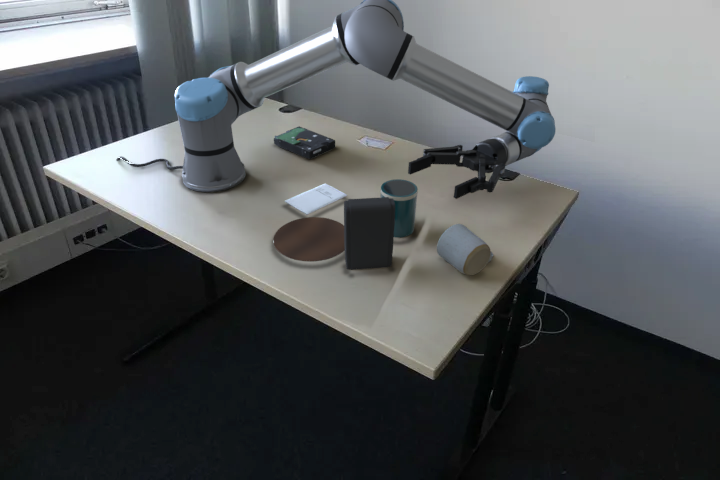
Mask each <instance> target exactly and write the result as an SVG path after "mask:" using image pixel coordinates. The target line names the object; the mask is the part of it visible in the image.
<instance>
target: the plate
mask: <svg viewBox="0 0 720 480" xmlns="http://www.w3.org/2000/svg"><path fill="white" fill-rule="evenodd" d="M272 242H273V246H274V248H275V250H277V252H278V253H279V254H281V255H282V256H284V257H285V258H288V259H291V260H294V261H299V262H320V261H326V260H329V259H332V258H335V257H337V256H339V255H341V254H342V253H345V246H344V223H341V222H340V221H338V220H335V219H332V218H327V217H321V216H309V217H302V218H297V219H294V220H291V221H289V222H287V223H285V224H283V225H282V226H280V227H279V228H278V229H277V231H276V232H275V233H274V235H273V238H272Z"/></svg>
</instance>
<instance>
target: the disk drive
mask: <svg viewBox="0 0 720 480" xmlns="http://www.w3.org/2000/svg"><path fill="white" fill-rule="evenodd" d="M273 144H274V145H275V146H277V147H279V148H281V149H284V150H286V151H289V152H291V153H293V154H295V155H298V156H299V157H302V158H305V159H307V160H308V159H309V160H312V159H314V158H317V157H319V156H322V155H324V154H325V153H328V152H331V151H332V150H334V149H335V148H336V139H333V138H332V137H328V136H326V135H323V134H320V133H318V132H315V131H313V130H310V129H308V128H305V127H302V126H300V125H298V126H297V127H294V128H291V129H289V130H286V131H285V132H283V133H281V134H278V135H274V137H273Z"/></svg>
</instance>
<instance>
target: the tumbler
mask: <svg viewBox="0 0 720 480" xmlns="http://www.w3.org/2000/svg"><path fill="white" fill-rule="evenodd" d="M418 190H419V189H418V186H417V185H416V184H415V183H414V182H412V181H410V180H408V179H407V180H406V179H398V178H397V179H390V180H386V181H384V182H383V183H382V184H380V197H379V198H381V197H389V198H393V200H394V202H395V224H394V239H395V238H397V239H398V238H406V237H409V236H411V235H412V234H413V233H414V231H415V225H416V214H417V213H416V212H417V199H418V193H419V191H418Z"/></svg>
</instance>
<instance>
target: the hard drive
mask: <svg viewBox="0 0 720 480" xmlns="http://www.w3.org/2000/svg"><path fill="white" fill-rule="evenodd" d="M347 196H348V194H347V193H345V192H343V191H341V190H339V189H338V188H336V187H334V186H331V185H330V184H328V183H323V184H320V185H318V186H316V187H313V188H311V189H309V190H306V191H303V192H302V193H300V194H297V195H295V196H292V197H290V198H288V199H286V200H284V201H283V202H285V203H286V204H287V205H289V206H291V207H292V208H294V209H296V210H298V211H300V212H301V213H303V214H304V215H306V216H308V215H310V214H312V213H314V212H316V211H318V210H321V209H322V208H325V207H326V206H328V205H331V204H333V203H335V202H337V201H339V200H341V199H343V198H345V197H347Z"/></svg>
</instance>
